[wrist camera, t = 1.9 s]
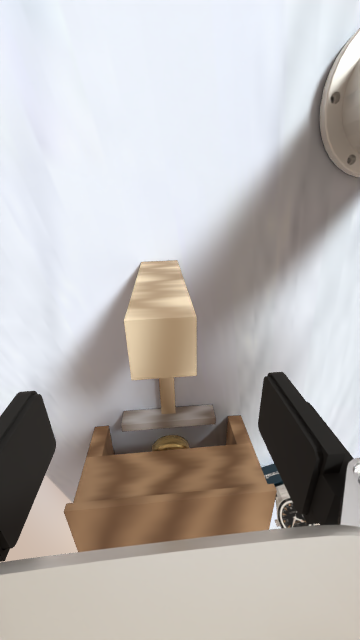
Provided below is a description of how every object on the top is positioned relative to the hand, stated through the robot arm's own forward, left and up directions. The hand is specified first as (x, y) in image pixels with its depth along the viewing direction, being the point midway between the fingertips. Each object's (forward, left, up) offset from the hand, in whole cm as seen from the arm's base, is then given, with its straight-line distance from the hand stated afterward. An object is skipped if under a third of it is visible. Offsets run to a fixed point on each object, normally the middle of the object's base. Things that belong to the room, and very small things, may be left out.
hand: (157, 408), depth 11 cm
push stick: (0, +9, -21) cm, 22 cm away
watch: (-18, +36, -21) cm, 45 cm away
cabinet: (0, +27, -21) cm, 34 cm away
